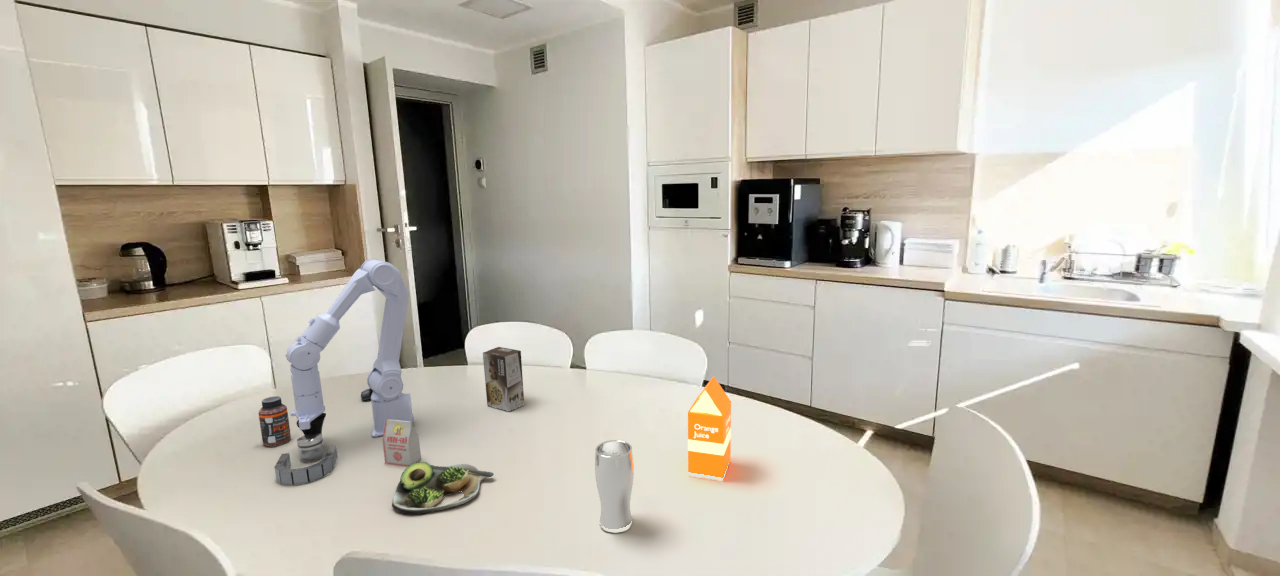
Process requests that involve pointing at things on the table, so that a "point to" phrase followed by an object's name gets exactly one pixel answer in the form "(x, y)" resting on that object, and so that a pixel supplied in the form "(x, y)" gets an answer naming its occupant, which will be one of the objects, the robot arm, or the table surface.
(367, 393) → the can opener
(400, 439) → the white paper bag
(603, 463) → the beer glass
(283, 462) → the split ring collar
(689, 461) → the orange juice
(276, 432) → the supplement bottle
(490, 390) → the coffee box
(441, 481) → the avocado toast plate
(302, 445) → the cylinder
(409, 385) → the table surface
